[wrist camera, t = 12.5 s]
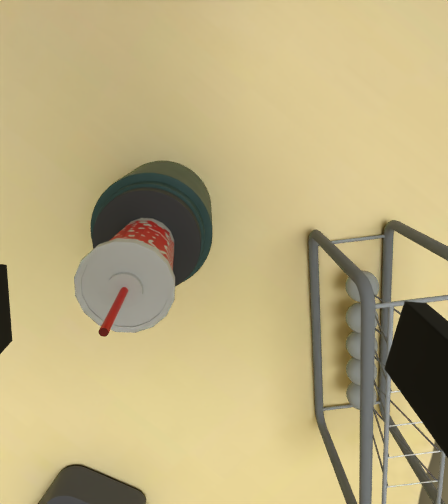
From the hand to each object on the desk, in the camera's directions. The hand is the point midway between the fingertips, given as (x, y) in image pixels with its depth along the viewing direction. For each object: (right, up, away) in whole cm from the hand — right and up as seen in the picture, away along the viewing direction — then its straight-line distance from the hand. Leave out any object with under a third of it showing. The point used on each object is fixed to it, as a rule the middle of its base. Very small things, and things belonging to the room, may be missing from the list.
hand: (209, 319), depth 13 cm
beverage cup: (-6, +3, +19) cm, 20 cm away
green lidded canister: (-7, +8, +32) cm, 34 cm away
